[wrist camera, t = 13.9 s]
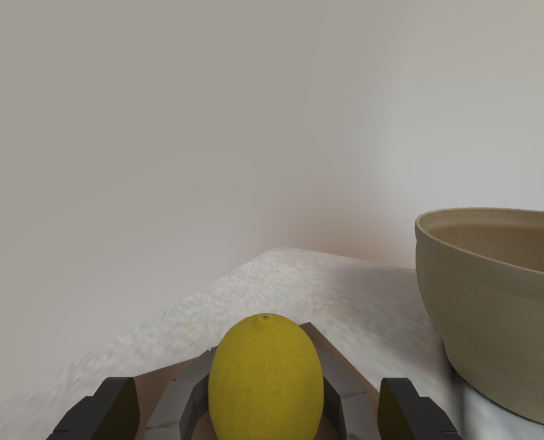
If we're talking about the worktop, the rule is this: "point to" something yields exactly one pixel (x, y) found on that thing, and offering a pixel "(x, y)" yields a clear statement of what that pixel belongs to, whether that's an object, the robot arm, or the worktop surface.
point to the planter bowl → (488, 299)
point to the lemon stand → (195, 404)
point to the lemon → (266, 382)
